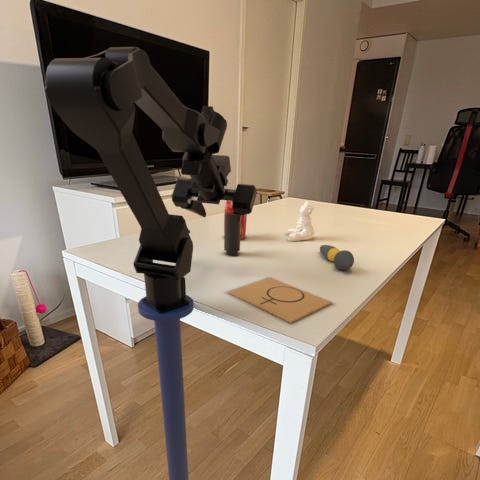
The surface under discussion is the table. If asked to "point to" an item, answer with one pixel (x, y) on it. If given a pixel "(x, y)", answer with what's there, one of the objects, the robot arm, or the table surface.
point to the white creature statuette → (303, 224)
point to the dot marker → (231, 232)
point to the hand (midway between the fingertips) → (222, 217)
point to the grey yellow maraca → (338, 257)
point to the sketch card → (280, 299)
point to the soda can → (243, 221)
